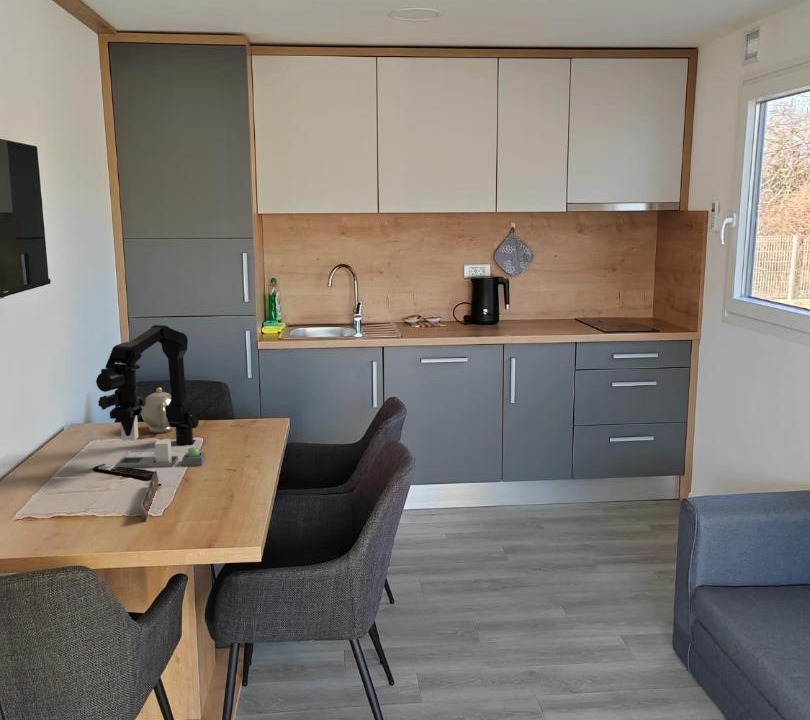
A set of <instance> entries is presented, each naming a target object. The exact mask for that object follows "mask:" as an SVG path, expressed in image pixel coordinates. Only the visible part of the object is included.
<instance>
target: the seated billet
mask: <svg viewBox="0 0 810 720" xmlns="http://www.w3.org/2000/svg"><path fill="white" fill-rule="evenodd" d="M154 450H155V451H154V453H155V456H154V457H156V463H159V462H171V461H172V455H173V454H172V442H171V440H169V439H168V440H167V439H166V440H164V439H163V440H162V439H161V440H157V441H156V442H155V443H154Z"/></svg>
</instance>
